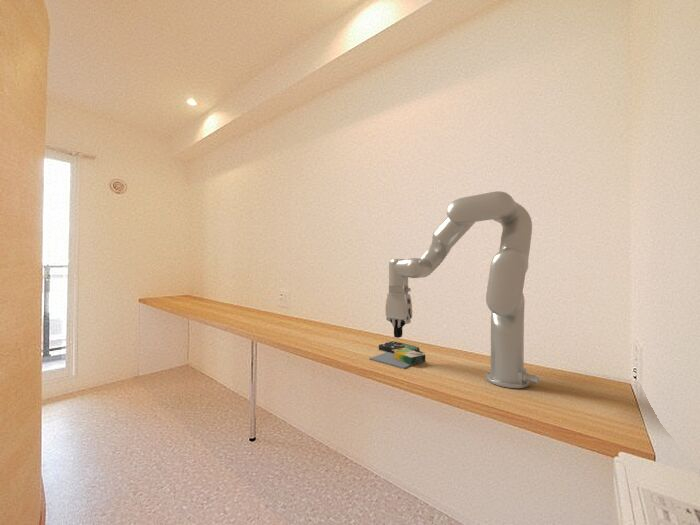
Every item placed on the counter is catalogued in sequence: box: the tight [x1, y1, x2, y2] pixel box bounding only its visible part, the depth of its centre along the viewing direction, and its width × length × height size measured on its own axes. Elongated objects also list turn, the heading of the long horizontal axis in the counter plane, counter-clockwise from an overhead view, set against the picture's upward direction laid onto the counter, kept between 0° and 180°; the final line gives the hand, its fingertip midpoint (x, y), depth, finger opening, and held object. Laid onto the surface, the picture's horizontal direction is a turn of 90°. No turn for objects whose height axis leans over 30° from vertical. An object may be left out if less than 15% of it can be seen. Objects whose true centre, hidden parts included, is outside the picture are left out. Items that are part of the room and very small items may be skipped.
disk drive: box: [378, 340, 421, 354], centre depth 134 cm, size 10×3×15 cm
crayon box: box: [392, 348, 426, 366], centre depth 119 cm, size 7×3×12 cm
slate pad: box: [369, 351, 415, 370], centre depth 120 cm, size 16×12×1 cm
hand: (398, 336), depth 120 cm, fingers closed
